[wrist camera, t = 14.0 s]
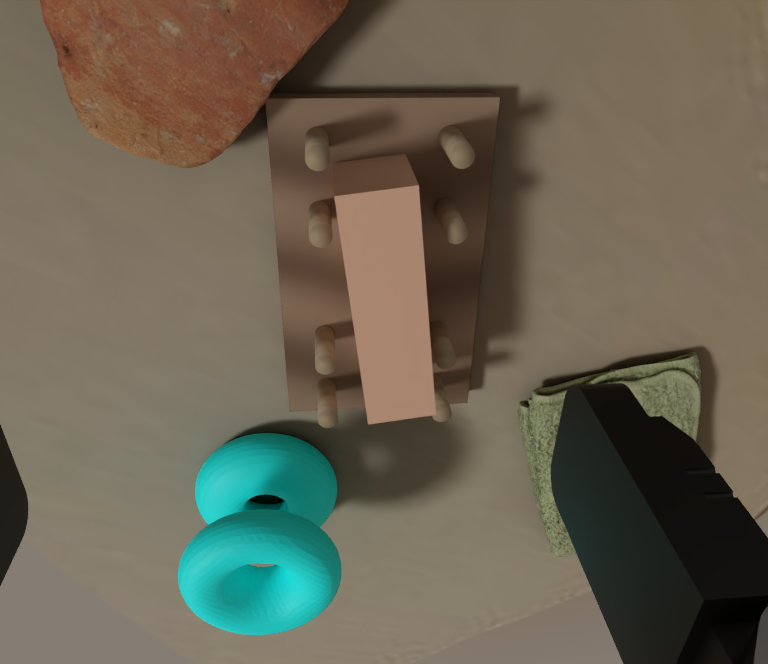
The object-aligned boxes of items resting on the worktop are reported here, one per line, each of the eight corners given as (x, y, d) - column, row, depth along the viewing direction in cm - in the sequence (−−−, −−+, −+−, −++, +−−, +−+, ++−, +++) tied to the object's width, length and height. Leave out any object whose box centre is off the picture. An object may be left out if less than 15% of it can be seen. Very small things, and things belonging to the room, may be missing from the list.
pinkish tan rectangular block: (330, 163, 35) (334, 196, 30) (405, 153, 35) (418, 185, 30) (362, 374, 42) (368, 424, 38) (423, 365, 42) (435, 414, 38)
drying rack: (266, 93, 33) (260, 116, 30) (494, 92, 35) (518, 114, 31) (290, 400, 44) (288, 447, 40) (463, 392, 45) (478, 437, 41)
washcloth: (693, 336, 45) (718, 362, 42) (687, 506, 55) (706, 536, 52) (509, 381, 46) (522, 410, 43) (534, 542, 55) (546, 574, 52)
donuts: (139, 604, 39) (247, 513, 35) (170, 482, 47) (259, 400, 44) (269, 662, 43) (376, 586, 40) (275, 541, 51) (364, 470, 48)
